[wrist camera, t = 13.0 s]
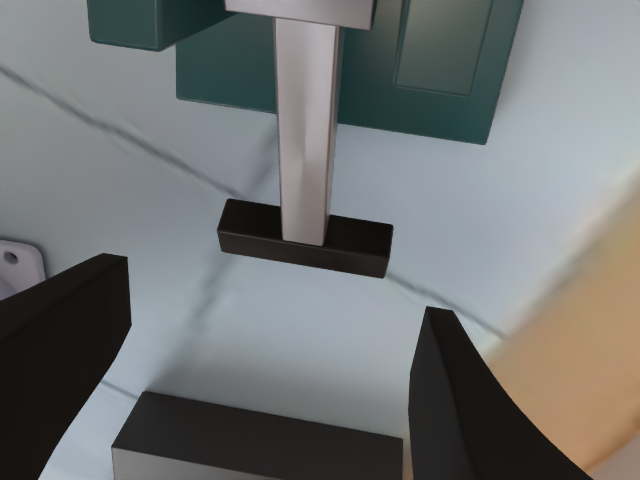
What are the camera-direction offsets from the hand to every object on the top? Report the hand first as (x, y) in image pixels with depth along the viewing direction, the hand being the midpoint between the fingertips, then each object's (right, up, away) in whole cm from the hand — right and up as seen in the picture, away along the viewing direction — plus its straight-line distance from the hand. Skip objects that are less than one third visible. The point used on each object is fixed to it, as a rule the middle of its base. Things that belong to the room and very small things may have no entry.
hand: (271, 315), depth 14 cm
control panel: (-1, -9, +12) cm, 16 cm away
